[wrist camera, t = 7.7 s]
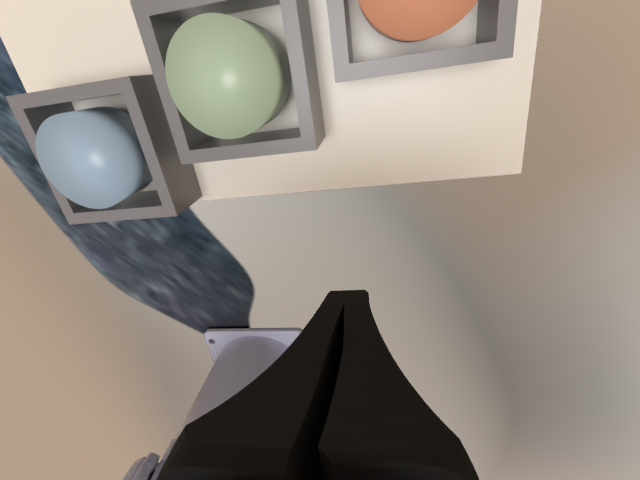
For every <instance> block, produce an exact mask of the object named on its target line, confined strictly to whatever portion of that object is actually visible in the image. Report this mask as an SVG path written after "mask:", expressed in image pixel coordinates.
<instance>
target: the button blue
mask: <svg viewBox="0 0 640 480" xmlns="http://www.w3.org/2000/svg"><path fill="white" fill-rule="evenodd" d="M35 147H36V154H37V158H38V161H39V164H40V166H41V168H42V170H43V172H44V174H45V175H46V177H47V178H48V180H49V181H50V182H51V184H52V185H53V186H54V187H55V188H56V189H57V190H58V191H59V192H60V193H61V194H62V195H64V196H65V197H66V198H68V199H69V200H71V201H73V202H74V203H77V204H79V205H81V206H84V207H87V208H92V209H104V208H109V207H112V206H113V205H115V204H117V203H119V202H121V201H122V200H124V199H126V198H128V197H130V196H131V195H133V194H135V193H137V192H138V191H140V190H142V189H144V188H145V187H147V186H148V185H149V184H150V183H151V182H152V180H153V178H152V175H151V172H150V170H149V167H148V164H147V161H146V159H145V156H144V153H143V150H142V147H141V145H140V142H139V139H138V136H137V134H136V131H135V128H134V125H133V123H132V120H131V117H130V115H128V114H127V113H125V112H123V111H121V110H119V109H116V108H112V107H106V106H102V107H94V108H88V109H83V110H77V111H71V112H66V113H60V114H56V115H53V116H50V117H49V118H47V119H46V120H45V121H44V122H43V123H42V124H41V125H40V127H39V129H38V131H37V134H36V141H35Z"/></svg>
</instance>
